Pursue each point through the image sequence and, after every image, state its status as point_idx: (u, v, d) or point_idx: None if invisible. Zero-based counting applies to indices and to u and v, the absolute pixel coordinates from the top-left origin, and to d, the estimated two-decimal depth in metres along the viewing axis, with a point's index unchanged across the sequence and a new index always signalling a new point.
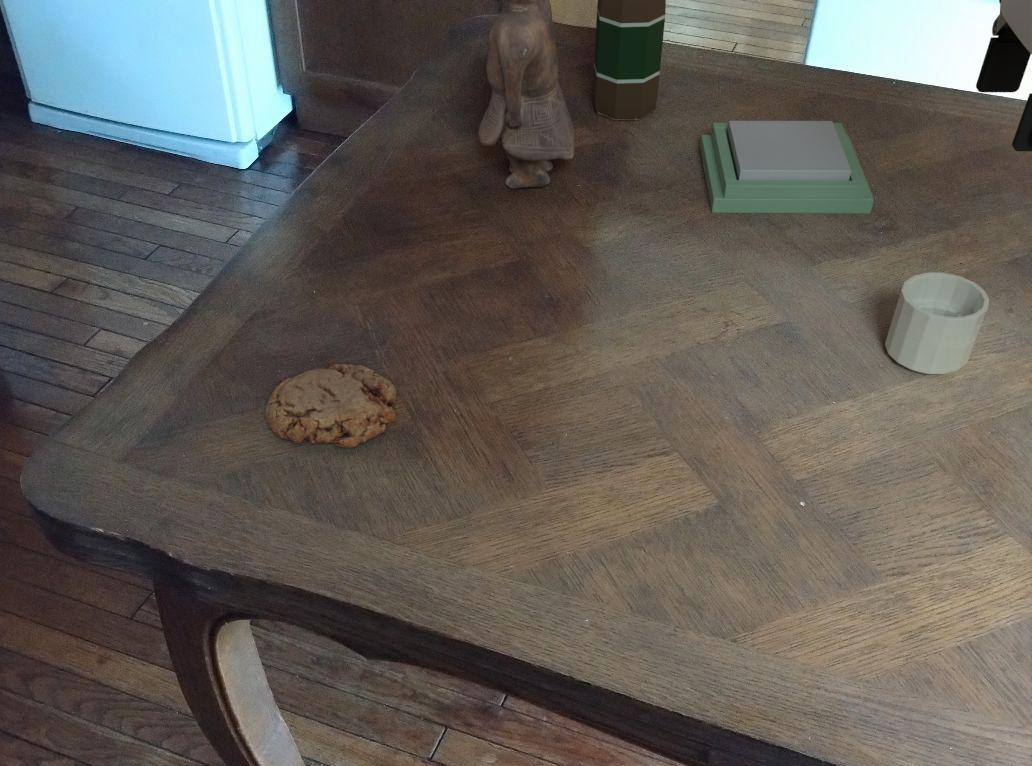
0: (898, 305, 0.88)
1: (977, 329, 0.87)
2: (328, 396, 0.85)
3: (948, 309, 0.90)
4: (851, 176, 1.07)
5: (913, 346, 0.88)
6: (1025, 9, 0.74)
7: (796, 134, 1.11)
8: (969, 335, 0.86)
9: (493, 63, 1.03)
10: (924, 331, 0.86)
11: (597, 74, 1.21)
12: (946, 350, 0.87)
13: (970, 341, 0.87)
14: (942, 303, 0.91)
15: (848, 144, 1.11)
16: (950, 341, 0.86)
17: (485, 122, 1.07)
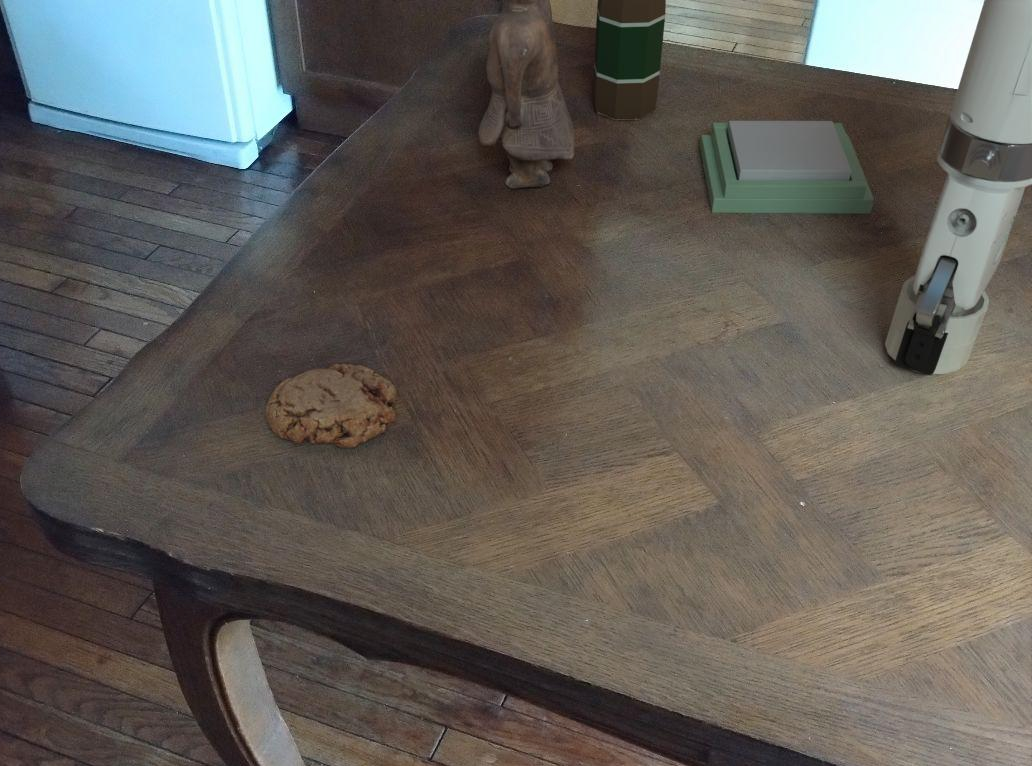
0: (898, 305, 0.88)
1: (977, 329, 0.87)
2: (328, 396, 0.85)
3: None
4: (851, 176, 1.07)
5: None
6: None
7: (796, 134, 1.11)
8: (969, 335, 0.86)
9: (493, 63, 1.03)
10: None
11: (597, 74, 1.21)
12: (946, 350, 0.87)
13: (970, 341, 0.87)
14: None
15: (848, 144, 1.11)
16: (950, 341, 0.86)
17: (485, 122, 1.07)
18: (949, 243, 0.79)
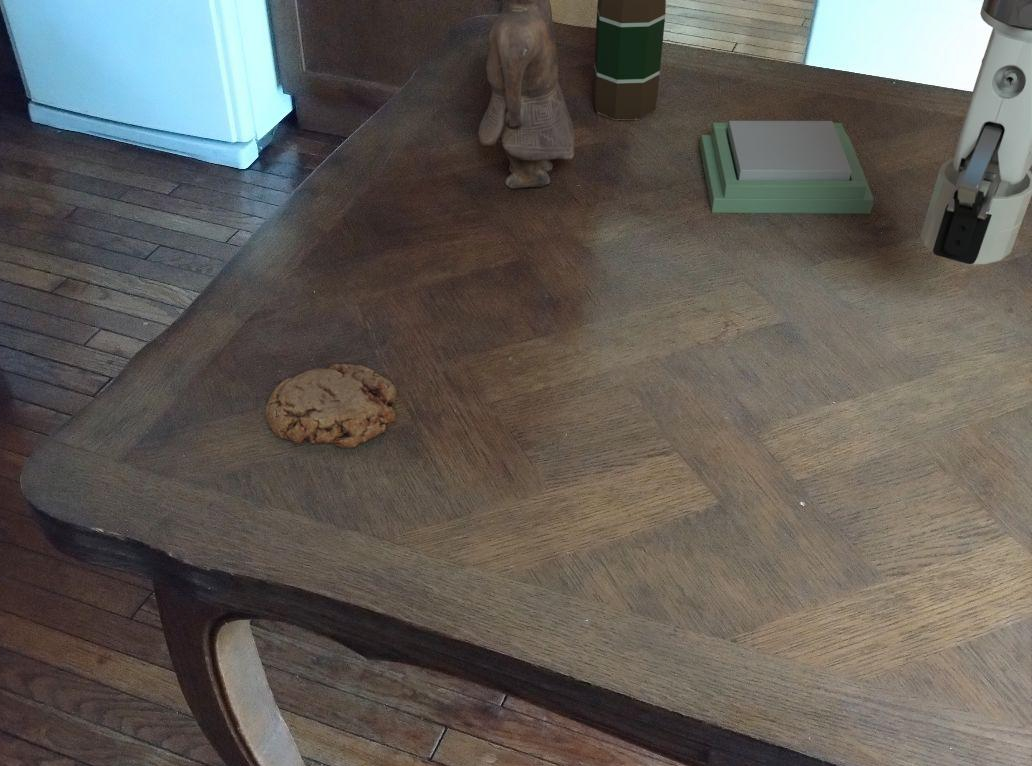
0: (935, 189, 0.81)
1: (1023, 212, 0.79)
2: (328, 396, 0.85)
3: None
4: (851, 176, 1.07)
5: None
6: None
7: (796, 134, 1.11)
8: (1014, 218, 0.79)
9: (493, 63, 1.03)
10: None
11: (597, 74, 1.21)
12: (989, 236, 0.80)
13: (1015, 226, 0.80)
14: (982, 189, 0.84)
15: (848, 144, 1.11)
16: (993, 225, 0.79)
17: (485, 122, 1.07)
18: (994, 107, 0.72)
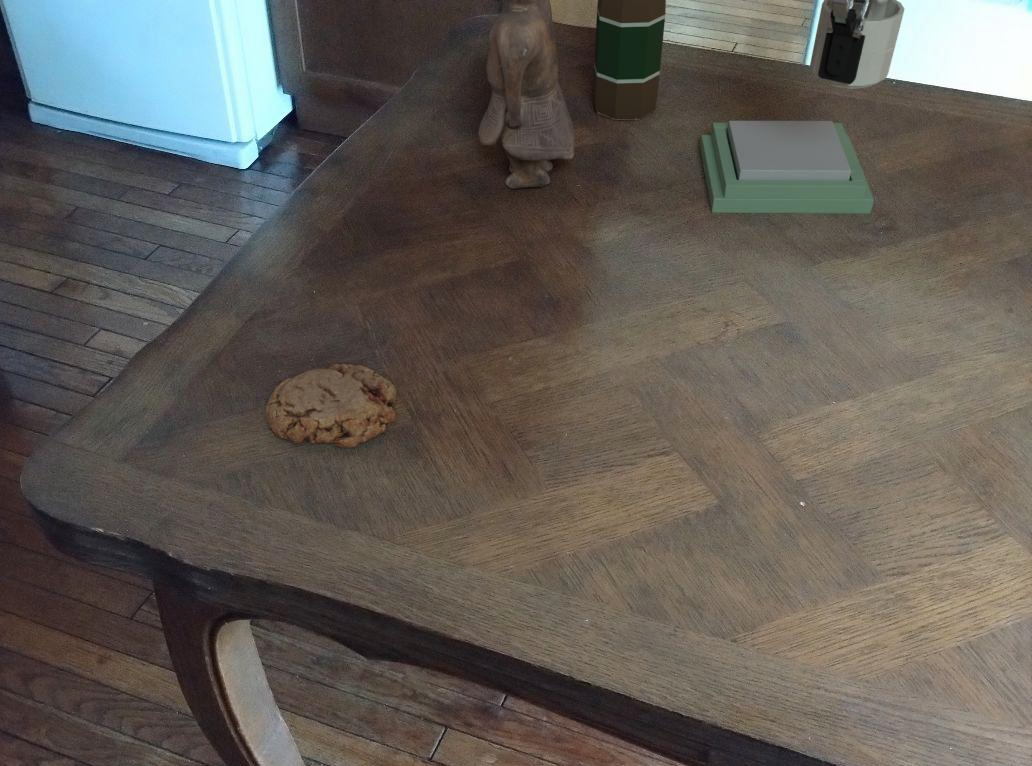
0: (819, 19, 0.93)
1: (893, 37, 0.91)
2: (328, 396, 0.85)
3: None
4: (851, 176, 1.07)
5: None
6: None
7: (796, 134, 1.11)
8: (886, 41, 0.91)
9: (493, 63, 1.03)
10: None
11: (597, 74, 1.21)
12: (865, 58, 0.92)
13: (887, 50, 0.92)
14: None
15: (848, 144, 1.11)
16: (868, 47, 0.91)
17: (485, 122, 1.07)
18: None
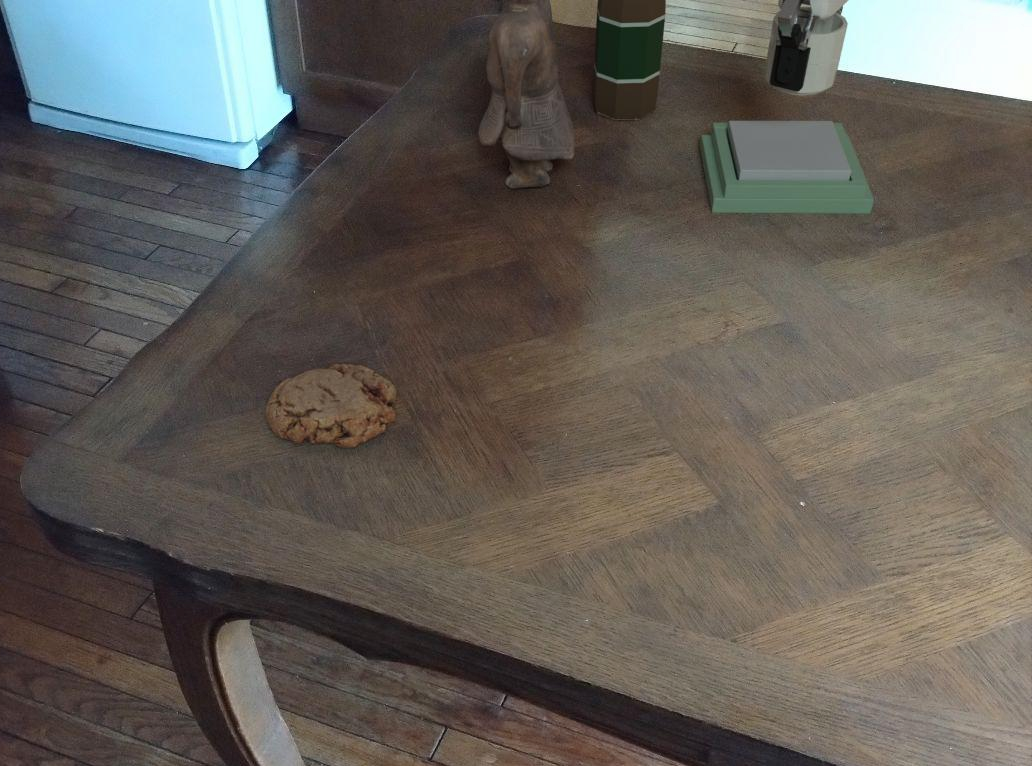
0: (771, 32, 1.02)
1: (837, 49, 1.00)
2: (328, 396, 0.85)
3: None
4: (851, 176, 1.07)
5: None
6: None
7: (796, 134, 1.11)
8: (830, 53, 1.00)
9: (493, 63, 1.03)
10: None
11: (597, 74, 1.21)
12: (811, 67, 1.01)
13: (832, 60, 1.01)
14: None
15: (848, 144, 1.11)
16: (813, 58, 1.00)
17: (485, 122, 1.07)
18: None
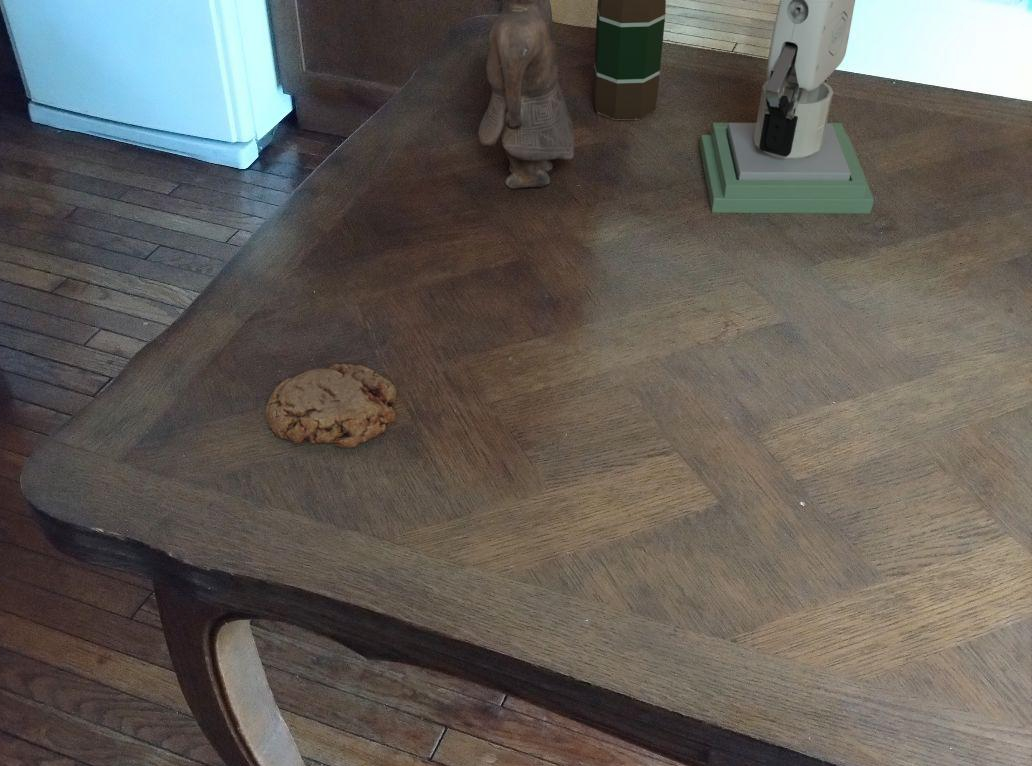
0: (760, 100, 1.07)
1: (823, 116, 1.05)
2: (328, 396, 0.85)
3: None
4: (851, 176, 1.07)
5: None
6: None
7: None
8: (816, 121, 1.05)
9: (493, 63, 1.03)
10: None
11: (597, 74, 1.21)
12: (798, 134, 1.06)
13: (818, 127, 1.06)
14: (800, 103, 1.09)
15: (848, 144, 1.11)
16: (800, 125, 1.05)
17: (485, 122, 1.07)
18: (789, 30, 0.98)
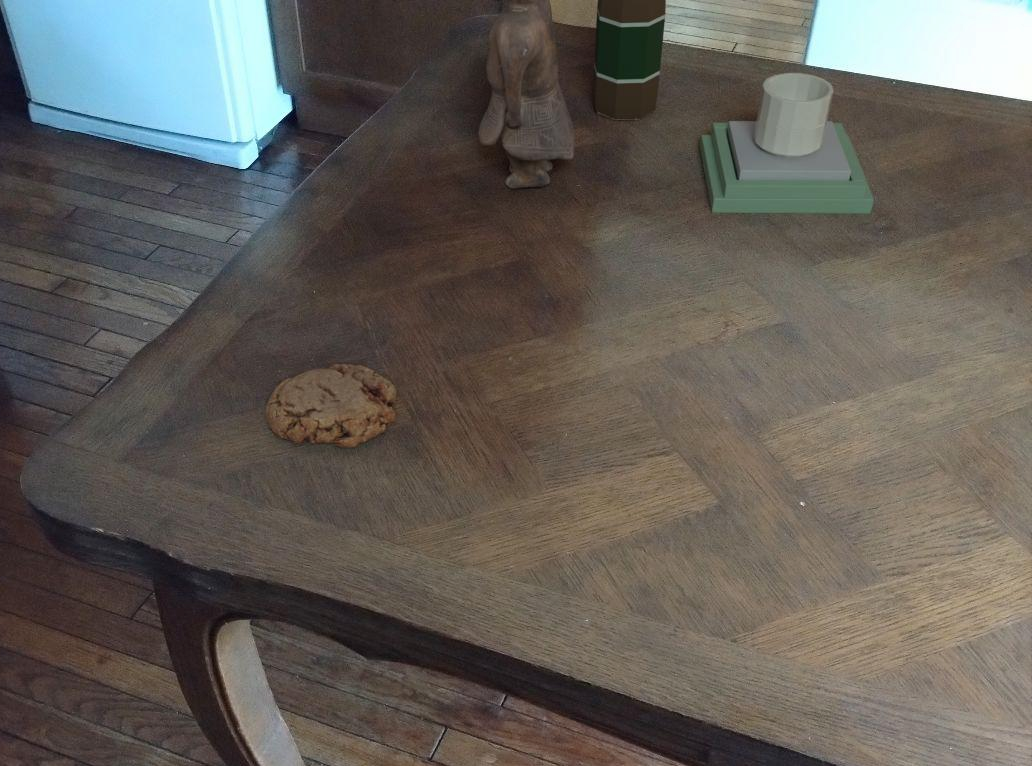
0: (761, 98, 1.07)
1: (824, 114, 1.05)
2: (328, 396, 0.85)
3: None
4: (851, 176, 1.07)
5: (772, 131, 1.06)
6: None
7: None
8: (817, 119, 1.05)
9: (493, 63, 1.03)
10: (779, 116, 1.05)
11: (597, 74, 1.21)
12: (798, 132, 1.05)
13: (819, 125, 1.06)
14: (800, 101, 1.09)
15: (848, 144, 1.11)
16: (801, 123, 1.05)
17: (485, 122, 1.07)
18: None
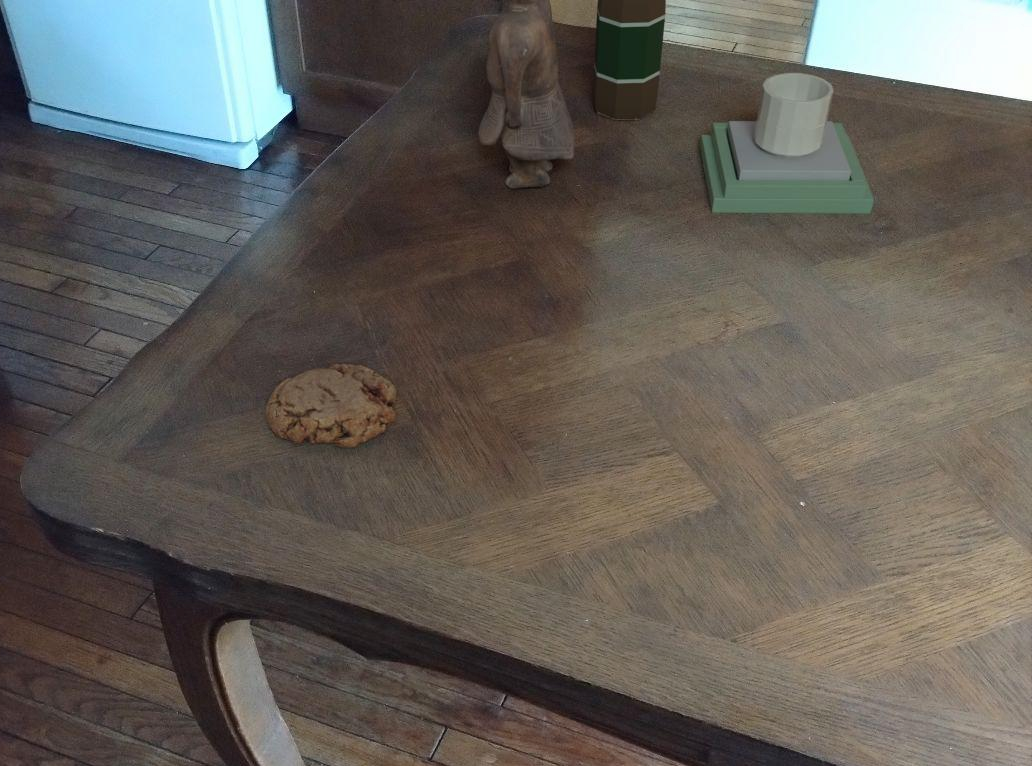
0: (761, 98, 1.07)
1: (824, 114, 1.05)
2: (328, 396, 0.85)
3: None
4: (851, 176, 1.07)
5: (772, 131, 1.06)
6: None
7: None
8: (817, 119, 1.05)
9: (493, 63, 1.03)
10: (779, 116, 1.05)
11: (597, 74, 1.21)
12: (798, 132, 1.05)
13: (819, 125, 1.06)
14: (800, 101, 1.09)
15: (848, 144, 1.11)
16: (801, 123, 1.05)
17: (485, 122, 1.07)
18: None
